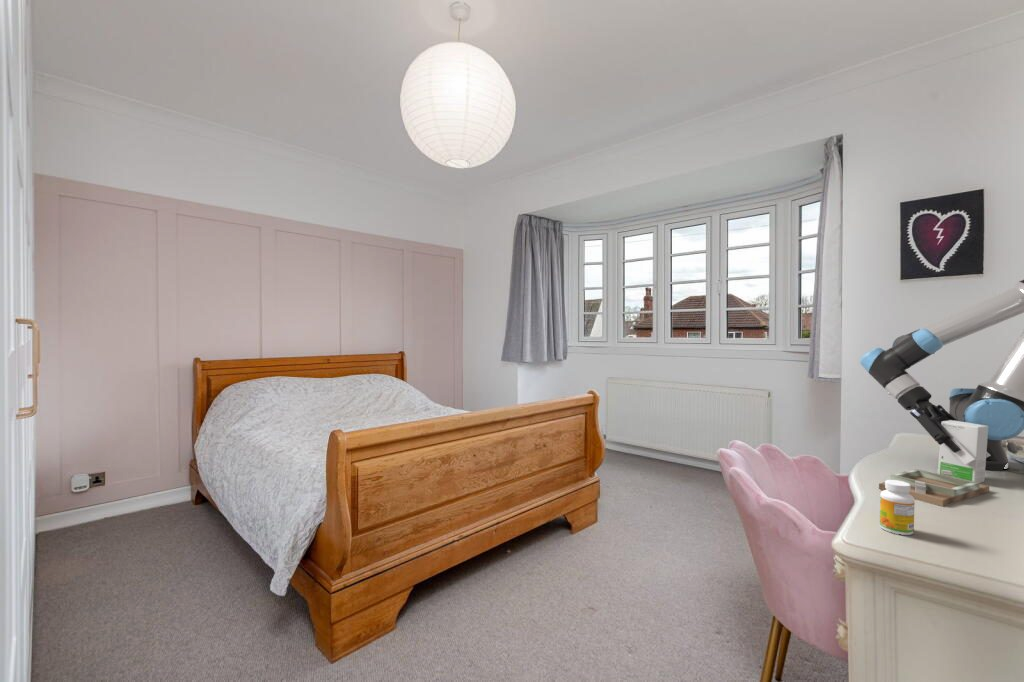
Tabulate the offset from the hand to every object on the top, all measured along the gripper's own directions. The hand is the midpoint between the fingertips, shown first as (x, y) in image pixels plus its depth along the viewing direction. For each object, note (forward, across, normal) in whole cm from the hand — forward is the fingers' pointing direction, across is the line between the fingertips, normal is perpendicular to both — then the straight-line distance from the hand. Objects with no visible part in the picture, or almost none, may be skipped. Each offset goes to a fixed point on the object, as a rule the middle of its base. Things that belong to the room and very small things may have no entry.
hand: (977, 459), depth 128 cm
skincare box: (+2, 0, -7) cm, 7 cm away
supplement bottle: (+10, +56, +1) cm, 57 cm away
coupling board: (+3, +19, -6) cm, 20 cm away
